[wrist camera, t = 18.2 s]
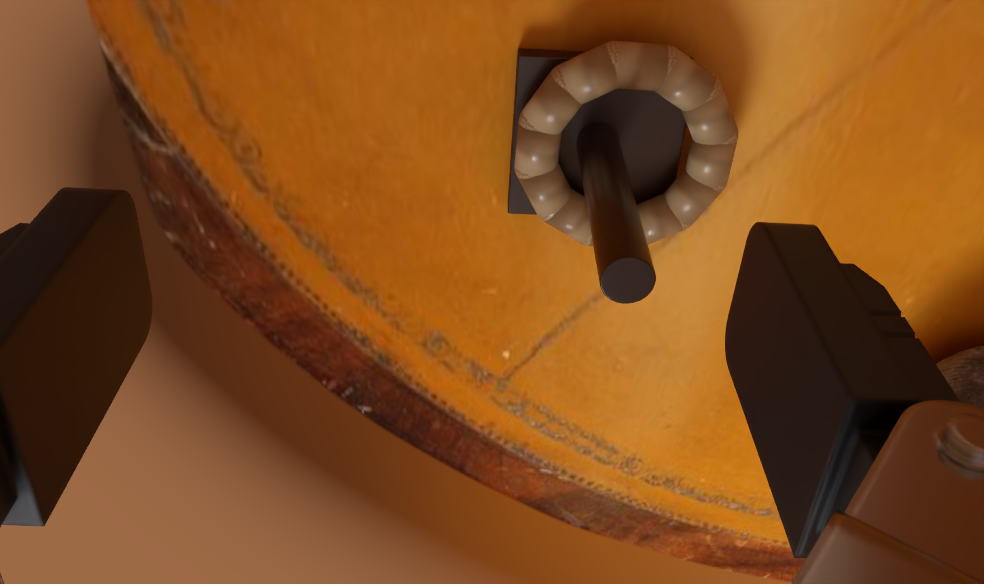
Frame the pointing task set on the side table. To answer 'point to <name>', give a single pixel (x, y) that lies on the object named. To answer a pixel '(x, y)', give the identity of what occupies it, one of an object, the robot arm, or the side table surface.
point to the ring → (635, 71)
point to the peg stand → (608, 168)
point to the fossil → (966, 375)
